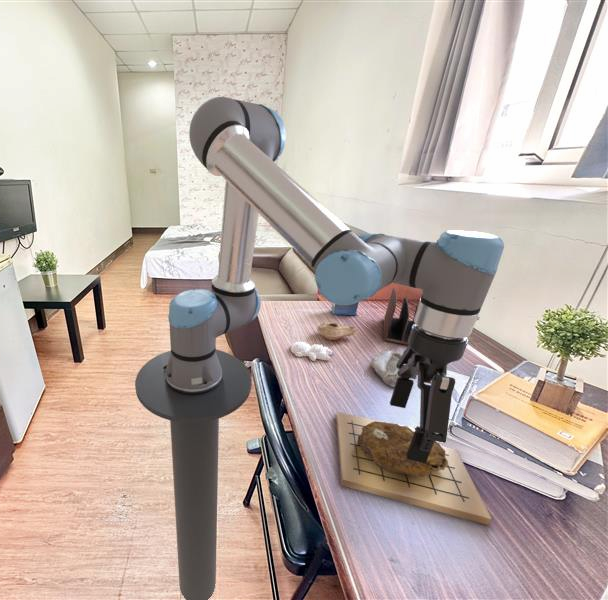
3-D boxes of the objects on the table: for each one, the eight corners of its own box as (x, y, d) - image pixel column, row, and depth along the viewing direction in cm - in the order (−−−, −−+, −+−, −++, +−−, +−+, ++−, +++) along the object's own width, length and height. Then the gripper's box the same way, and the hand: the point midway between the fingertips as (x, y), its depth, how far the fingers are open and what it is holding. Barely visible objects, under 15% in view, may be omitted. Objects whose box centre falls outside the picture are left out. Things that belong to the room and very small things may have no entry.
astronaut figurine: (327, 365, 91) (328, 356, 90) (287, 353, 97) (288, 345, 96) (333, 352, 98) (334, 343, 97) (295, 342, 104) (296, 334, 103)
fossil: (380, 352, 98) (381, 343, 97) (416, 362, 92) (418, 353, 91) (362, 378, 86) (364, 369, 85) (403, 392, 80) (405, 382, 79)
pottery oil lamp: (360, 343, 102) (358, 329, 98) (322, 349, 106) (319, 336, 102) (353, 323, 109) (351, 310, 105) (318, 330, 113) (314, 317, 108)
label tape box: (353, 311, 127) (358, 283, 122) (356, 316, 123) (362, 287, 118) (330, 310, 128) (335, 282, 123) (333, 315, 124) (338, 286, 119)
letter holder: (383, 340, 105) (393, 302, 99) (384, 318, 121) (392, 284, 116) (418, 348, 100) (430, 308, 95) (413, 324, 116) (423, 289, 111)
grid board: (341, 485, 56) (342, 479, 55) (335, 416, 72) (337, 411, 71) (488, 525, 49) (492, 518, 49) (447, 440, 65) (449, 434, 65)
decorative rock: (426, 437, 64) (350, 431, 66) (430, 421, 63) (352, 416, 65) (460, 486, 54) (369, 477, 56) (466, 467, 52) (372, 459, 54)
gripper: (511, 380, 38) (455, 497, 46) (440, 303, 60) (410, 392, 68) (440, 368, 40) (398, 482, 48) (396, 298, 62) (373, 385, 70)
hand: (405, 429), depth 58 cm, fingers open, 13 cm apart
